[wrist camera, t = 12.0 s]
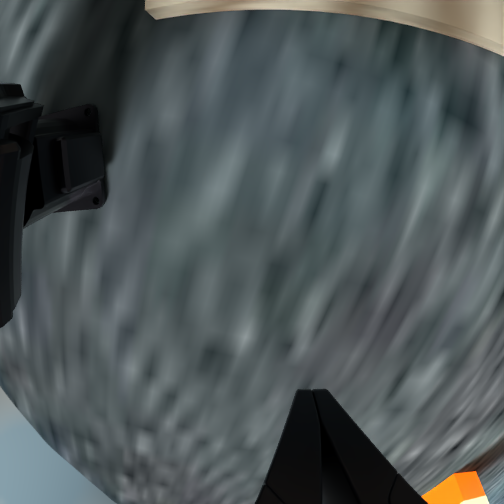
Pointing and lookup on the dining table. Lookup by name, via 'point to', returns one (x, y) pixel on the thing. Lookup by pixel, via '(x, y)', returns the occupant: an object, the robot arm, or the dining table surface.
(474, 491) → the orange juice
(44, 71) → the dining table surface
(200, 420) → the dining table surface
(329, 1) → the stool seat
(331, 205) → the dining table surface
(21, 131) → the robot arm
